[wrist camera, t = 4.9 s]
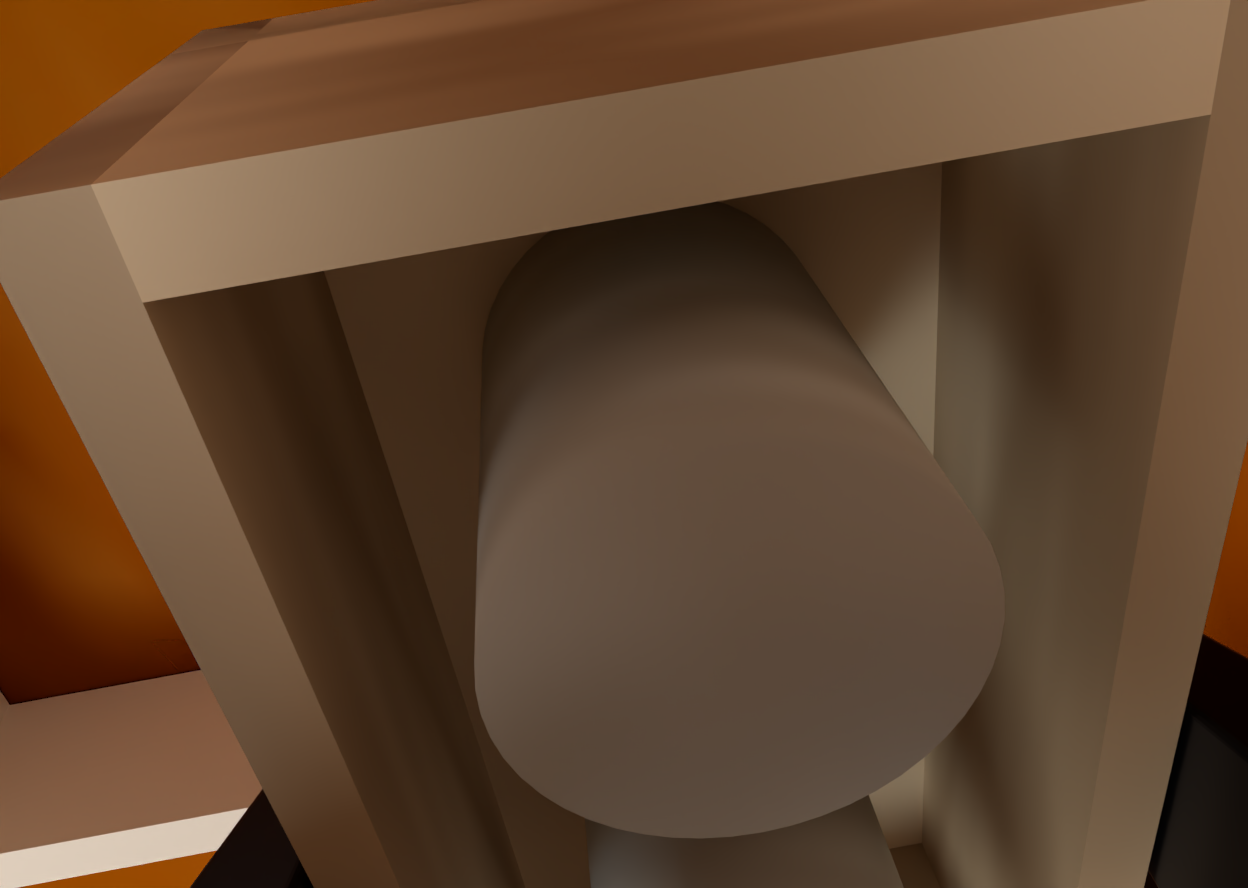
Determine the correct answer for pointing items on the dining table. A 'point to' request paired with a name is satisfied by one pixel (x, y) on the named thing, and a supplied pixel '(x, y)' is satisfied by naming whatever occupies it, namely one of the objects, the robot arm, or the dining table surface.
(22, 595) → the dining table surface
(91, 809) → the beige u-shaped block
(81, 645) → the dining table surface
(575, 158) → the crate with rolls
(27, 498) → the dining table surface
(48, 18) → the dining table surface
